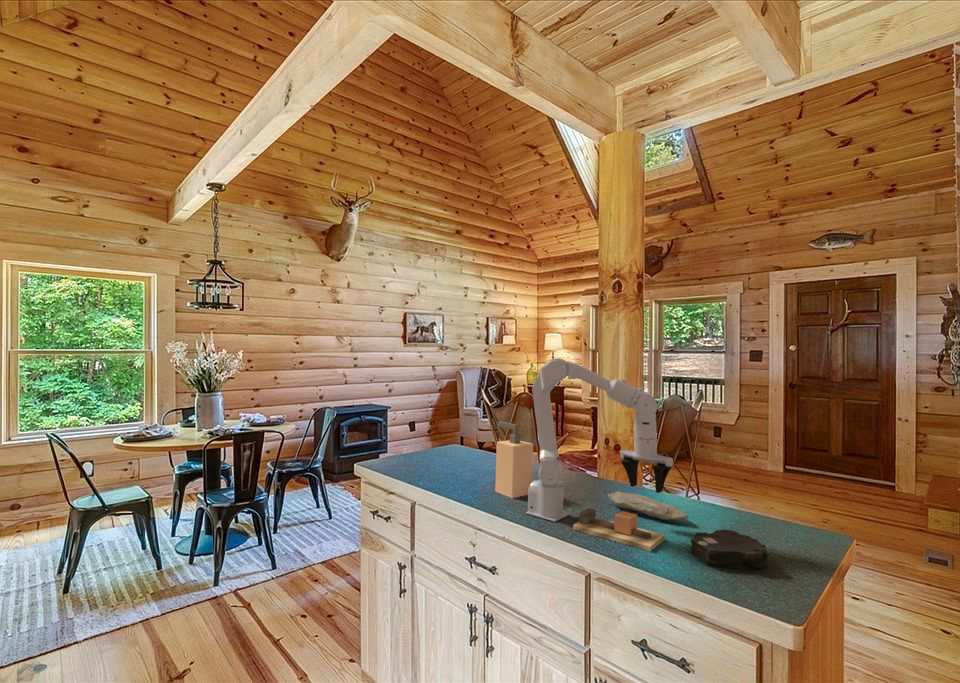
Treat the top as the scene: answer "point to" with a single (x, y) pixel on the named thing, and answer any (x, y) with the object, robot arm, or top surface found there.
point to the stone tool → (647, 506)
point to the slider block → (625, 522)
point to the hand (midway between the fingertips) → (646, 488)
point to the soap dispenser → (513, 464)
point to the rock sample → (729, 550)
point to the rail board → (606, 530)
